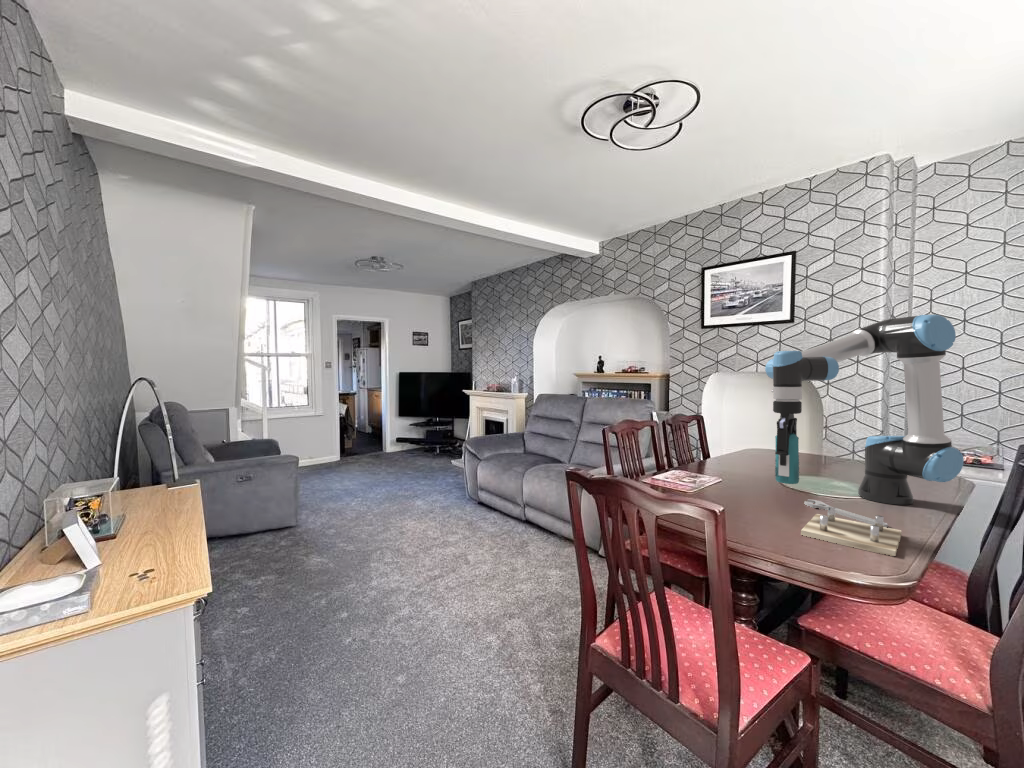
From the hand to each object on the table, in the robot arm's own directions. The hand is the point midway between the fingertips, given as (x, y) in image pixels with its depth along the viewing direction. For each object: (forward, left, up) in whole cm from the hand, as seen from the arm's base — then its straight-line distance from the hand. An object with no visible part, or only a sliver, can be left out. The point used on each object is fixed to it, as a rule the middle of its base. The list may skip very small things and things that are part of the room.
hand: (786, 473), depth 136 cm
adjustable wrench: (-17, +11, -15) cm, 25 cm away
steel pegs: (+3, +17, -13) cm, 21 cm away
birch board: (+3, +17, -14) cm, 22 cm away
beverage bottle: (0, 0, -4) cm, 4 cm away
